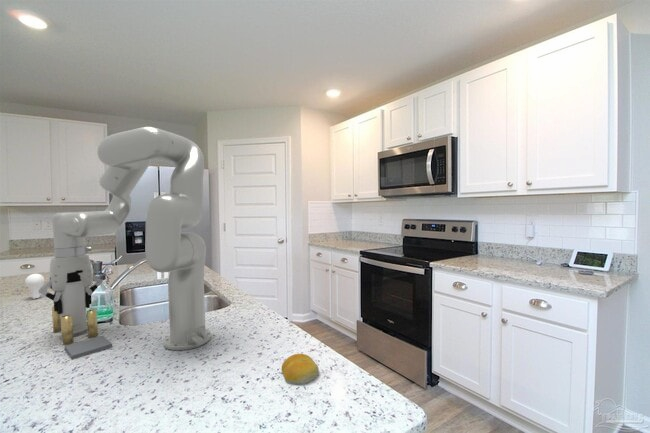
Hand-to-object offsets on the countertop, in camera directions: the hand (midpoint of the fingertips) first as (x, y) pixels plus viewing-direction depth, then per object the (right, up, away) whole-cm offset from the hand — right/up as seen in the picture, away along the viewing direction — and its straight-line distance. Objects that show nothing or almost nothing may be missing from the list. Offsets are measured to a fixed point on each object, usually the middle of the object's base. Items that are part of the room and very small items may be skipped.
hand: (73, 309), depth 98 cm
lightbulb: (-47, -7, +38) cm, 60 cm away
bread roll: (+72, -8, -25) cm, 77 cm away
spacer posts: (0, -8, 0) cm, 8 cm away
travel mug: (0, -8, 0) cm, 8 cm away
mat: (+12, -8, -10) cm, 17 cm away
